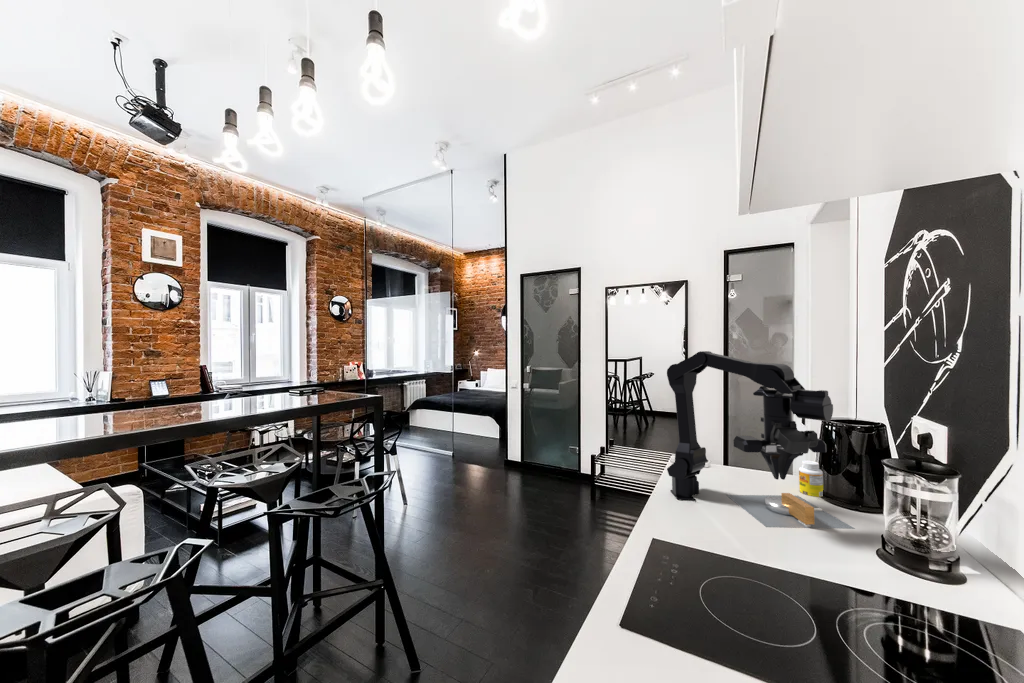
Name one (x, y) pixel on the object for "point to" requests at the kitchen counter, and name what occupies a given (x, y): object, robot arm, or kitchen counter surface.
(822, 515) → the board
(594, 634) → the kitchen counter surface
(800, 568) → the kitchen counter surface
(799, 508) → the dial
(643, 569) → the kitchen counter surface
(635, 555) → the kitchen counter surface
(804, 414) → the robot arm
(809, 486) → the supplement bottle
